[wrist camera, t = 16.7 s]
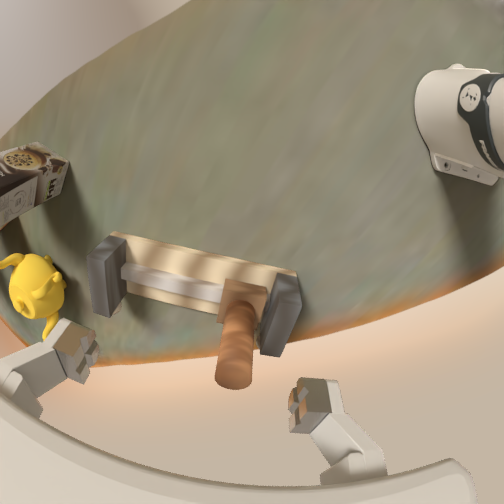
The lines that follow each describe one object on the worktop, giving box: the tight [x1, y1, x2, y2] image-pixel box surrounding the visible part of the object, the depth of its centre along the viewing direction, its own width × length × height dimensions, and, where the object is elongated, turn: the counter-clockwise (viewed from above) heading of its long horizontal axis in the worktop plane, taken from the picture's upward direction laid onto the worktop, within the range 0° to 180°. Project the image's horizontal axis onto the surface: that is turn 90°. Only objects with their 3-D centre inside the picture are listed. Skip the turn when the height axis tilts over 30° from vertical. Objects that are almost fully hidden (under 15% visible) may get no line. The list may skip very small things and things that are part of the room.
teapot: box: [0, 253, 67, 341], centre depth 39 cm, size 20×15×12 cm
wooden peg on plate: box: [215, 278, 267, 390], centre depth 34 cm, size 6×6×16 cm
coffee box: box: [0, 142, 69, 227], centre depth 27 cm, size 9×6×16 cm
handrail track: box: [86, 231, 302, 357], centre depth 39 cm, size 30×11×8 cm, turn 77°
